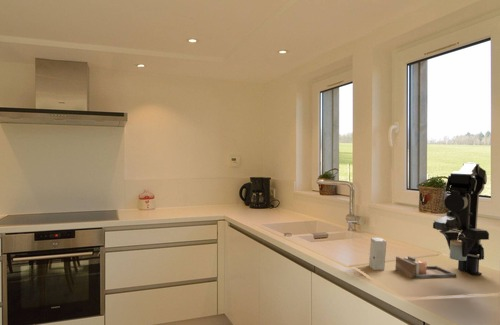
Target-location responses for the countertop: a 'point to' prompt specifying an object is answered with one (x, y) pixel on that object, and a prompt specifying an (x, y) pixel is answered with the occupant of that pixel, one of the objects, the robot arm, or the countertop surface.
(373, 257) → the skincare box
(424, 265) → the jar
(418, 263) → the pusher
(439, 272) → the lane
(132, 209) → the countertop surface
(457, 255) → the slate jar
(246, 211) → the countertop surface
